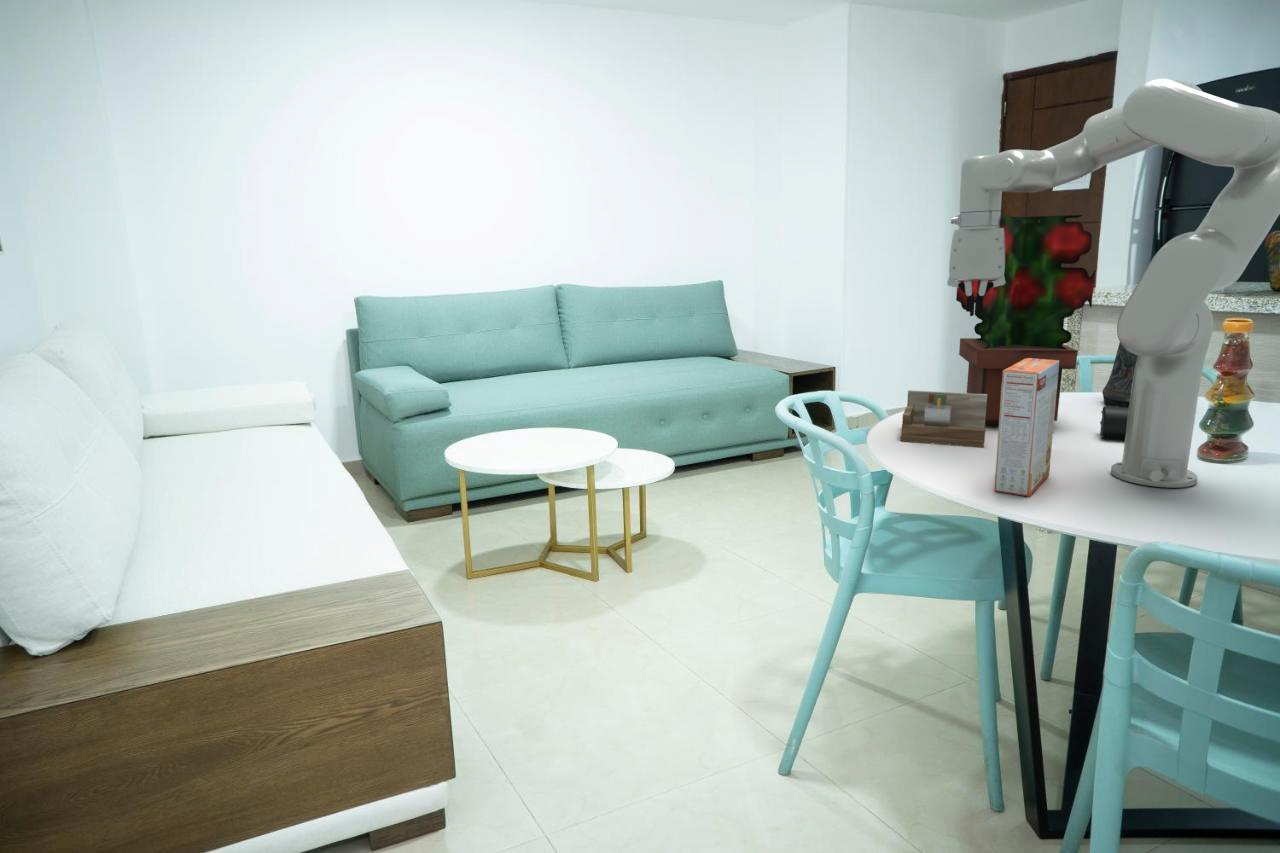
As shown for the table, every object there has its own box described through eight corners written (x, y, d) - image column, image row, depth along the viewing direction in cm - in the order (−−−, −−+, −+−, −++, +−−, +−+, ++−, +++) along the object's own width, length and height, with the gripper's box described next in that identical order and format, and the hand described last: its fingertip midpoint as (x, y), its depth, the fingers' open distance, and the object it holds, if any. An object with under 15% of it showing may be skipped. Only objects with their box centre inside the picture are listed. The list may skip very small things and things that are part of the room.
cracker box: (1013, 471, 142) (1024, 356, 137) (1050, 477, 138) (1062, 359, 133) (990, 491, 131) (1001, 368, 126) (1029, 498, 127) (1041, 371, 123)
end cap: (1101, 441, 160) (1105, 409, 158) (1097, 433, 166) (1100, 402, 165) (1159, 445, 156) (1163, 412, 154) (1152, 437, 162) (1156, 405, 161)
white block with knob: (948, 433, 164) (951, 403, 162) (923, 431, 166) (925, 401, 164) (949, 428, 168) (952, 398, 167) (925, 426, 170) (927, 397, 169)
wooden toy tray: (983, 447, 157) (987, 406, 155) (900, 441, 164) (902, 402, 162) (984, 431, 170) (987, 393, 168) (906, 426, 176) (908, 389, 174)
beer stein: (1160, 399, 196) (1174, 298, 190) (1203, 417, 178) (1219, 306, 172) (1090, 399, 199) (1101, 299, 193) (1124, 416, 180) (1138, 307, 174)
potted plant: (1077, 434, 166) (1101, 214, 155) (966, 431, 170) (982, 217, 160) (1046, 411, 187) (1066, 216, 176) (948, 409, 191) (961, 219, 181)
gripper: (937, 223, 154) (933, 317, 158) (1022, 219, 148) (1015, 317, 152) (939, 224, 161) (935, 314, 165) (1020, 220, 155) (1014, 313, 159)
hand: (974, 315), depth 158 cm, fingers closed
